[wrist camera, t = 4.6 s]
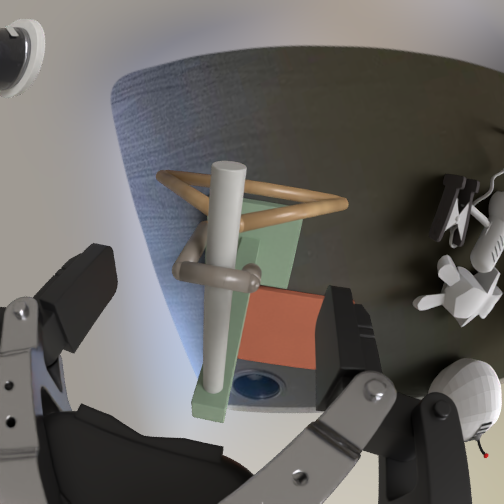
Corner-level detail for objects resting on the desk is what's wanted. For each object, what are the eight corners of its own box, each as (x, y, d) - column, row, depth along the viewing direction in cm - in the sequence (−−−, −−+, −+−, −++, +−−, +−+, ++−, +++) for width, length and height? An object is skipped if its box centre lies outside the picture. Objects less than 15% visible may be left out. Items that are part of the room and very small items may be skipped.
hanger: (159, 179, 21) (66, 260, 12) (159, 167, 21) (62, 243, 11) (345, 207, 21) (384, 318, 11) (348, 196, 20) (392, 301, 10)
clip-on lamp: (473, 99, 24) (415, 228, 30) (503, 92, 18) (440, 243, 24) (528, 156, 25) (476, 273, 30) (559, 159, 19) (503, 293, 24)
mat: (210, 349, 45) (209, 353, 44) (214, 277, 38) (212, 281, 37) (324, 366, 44) (324, 370, 44) (354, 300, 37) (354, 304, 36)
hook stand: (206, 269, 37) (143, 425, 19) (218, 110, 27) (83, 165, 9) (287, 283, 37) (275, 452, 18) (319, 124, 27) (381, 206, 9)
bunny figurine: (482, 334, 33) (415, 327, 31) (468, 312, 37) (401, 299, 35) (519, 284, 28) (458, 263, 26) (500, 263, 32) (437, 238, 30)
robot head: (399, 393, 47) (414, 488, 30) (433, 342, 40) (468, 452, 22) (463, 389, 46) (485, 469, 29) (499, 340, 38) (538, 428, 21)
